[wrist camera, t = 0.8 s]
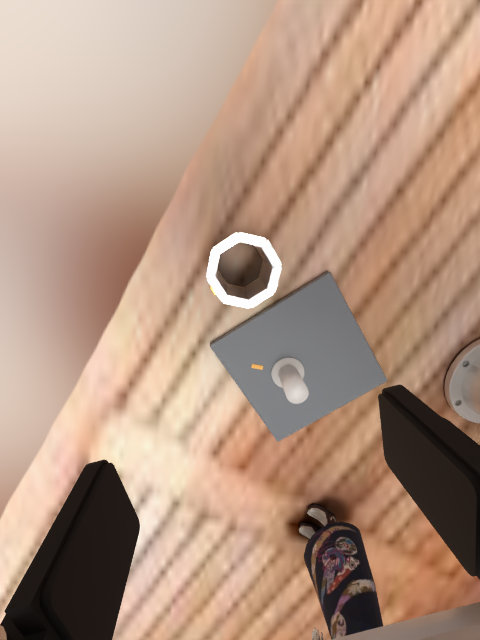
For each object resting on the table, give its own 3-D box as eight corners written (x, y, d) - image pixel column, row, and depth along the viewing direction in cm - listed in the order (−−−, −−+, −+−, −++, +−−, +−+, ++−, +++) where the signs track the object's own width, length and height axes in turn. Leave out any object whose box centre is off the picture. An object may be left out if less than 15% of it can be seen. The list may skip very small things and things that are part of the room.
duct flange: (327, 271, 33) (348, 278, 27) (383, 377, 37) (412, 402, 32) (210, 343, 35) (207, 364, 29) (276, 436, 39) (285, 471, 33)
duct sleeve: (249, 222, 31) (256, 219, 25) (278, 273, 33) (292, 282, 26) (198, 256, 32) (191, 261, 25) (229, 303, 34) (231, 320, 27)
